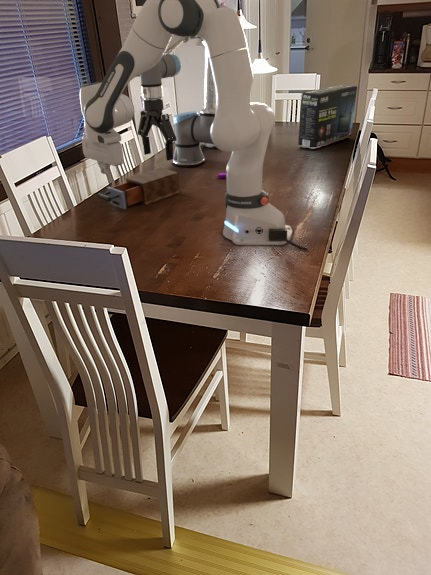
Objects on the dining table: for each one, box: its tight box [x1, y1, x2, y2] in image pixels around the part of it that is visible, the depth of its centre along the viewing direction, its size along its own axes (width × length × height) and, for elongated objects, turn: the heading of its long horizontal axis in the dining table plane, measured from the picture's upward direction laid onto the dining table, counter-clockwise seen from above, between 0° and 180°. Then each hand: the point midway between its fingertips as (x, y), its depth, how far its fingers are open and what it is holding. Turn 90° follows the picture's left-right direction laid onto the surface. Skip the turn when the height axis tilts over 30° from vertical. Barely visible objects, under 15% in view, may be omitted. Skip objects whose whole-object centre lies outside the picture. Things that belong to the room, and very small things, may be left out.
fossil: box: [200, 143, 219, 150], centre depth 248 cm, size 18×11×15 cm
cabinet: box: [125, 167, 181, 206], centre depth 181 cm, size 18×11×8 cm, turn 136°
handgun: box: [217, 172, 226, 179], centre depth 193 cm, size 21×8×2 cm, turn 11°
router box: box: [297, 84, 358, 151], centre depth 238 cm, size 36×11×27 cm, turn 134°
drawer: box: [96, 181, 144, 210], centre depth 174 cm, size 22×10×6 cm, turn 136°
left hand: (158, 156), depth 179 cm, fingers open, 13 cm apart
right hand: (105, 173), depth 164 cm, fingers closed
